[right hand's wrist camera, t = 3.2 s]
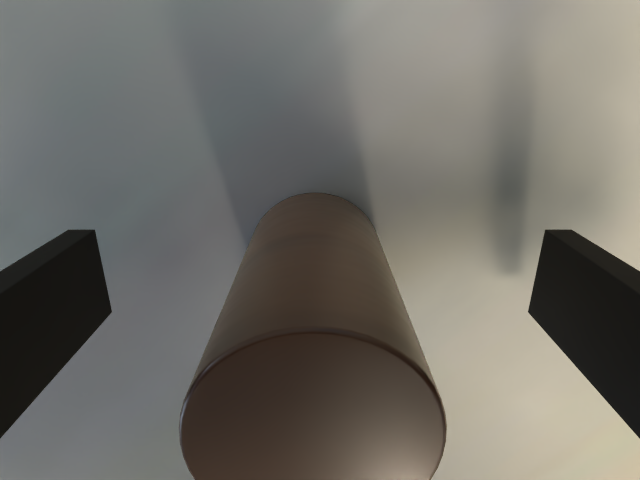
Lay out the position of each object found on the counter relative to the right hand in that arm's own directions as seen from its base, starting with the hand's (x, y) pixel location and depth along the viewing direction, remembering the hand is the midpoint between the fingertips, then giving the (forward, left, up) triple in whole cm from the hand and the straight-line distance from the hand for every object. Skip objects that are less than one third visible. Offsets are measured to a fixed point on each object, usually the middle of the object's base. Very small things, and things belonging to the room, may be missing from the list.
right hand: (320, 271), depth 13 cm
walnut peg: (0, 0, -2) cm, 2 cm away
